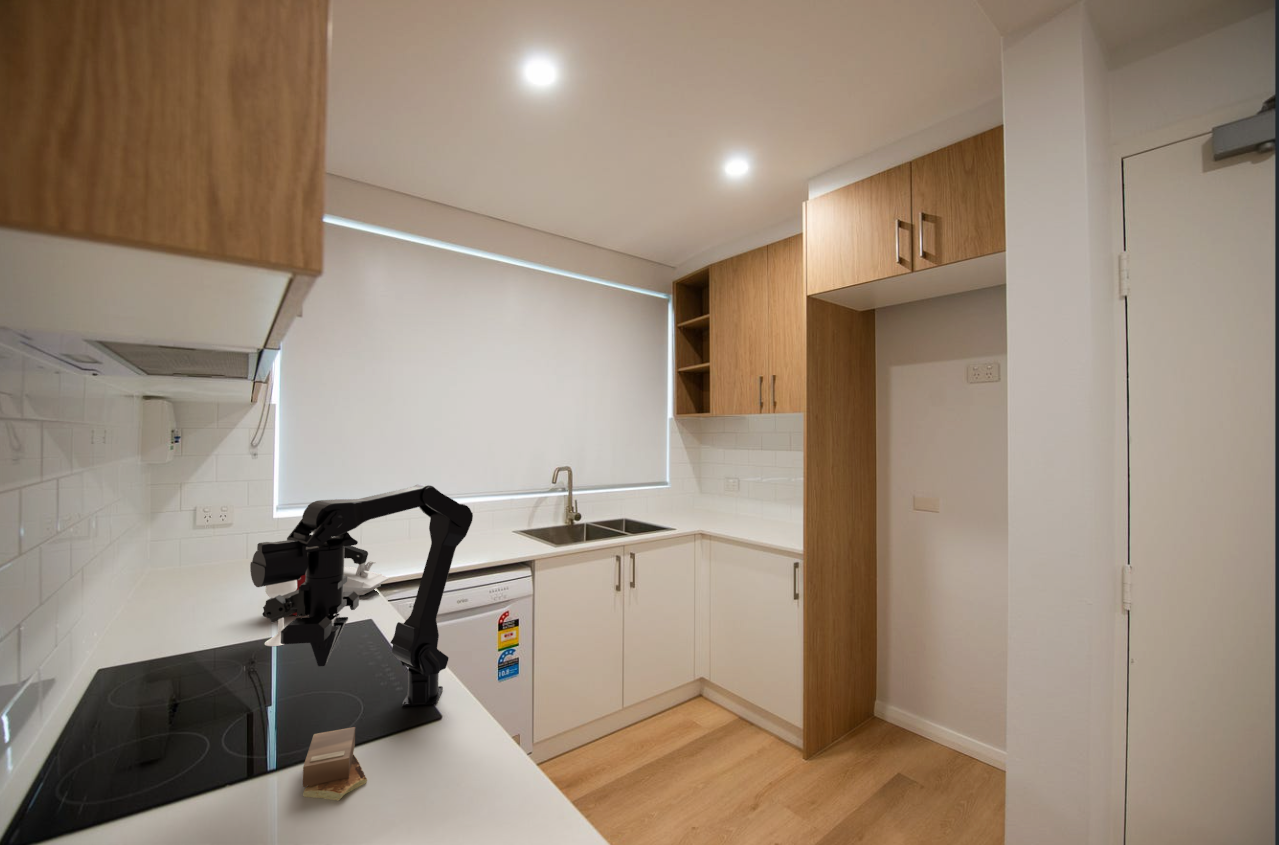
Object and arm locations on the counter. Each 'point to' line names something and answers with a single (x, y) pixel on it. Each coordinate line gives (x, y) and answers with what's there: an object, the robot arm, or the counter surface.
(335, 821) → the counter surface
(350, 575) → the iron
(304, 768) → the walnut slab
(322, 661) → the robot arm
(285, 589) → the champagne flute
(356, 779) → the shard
